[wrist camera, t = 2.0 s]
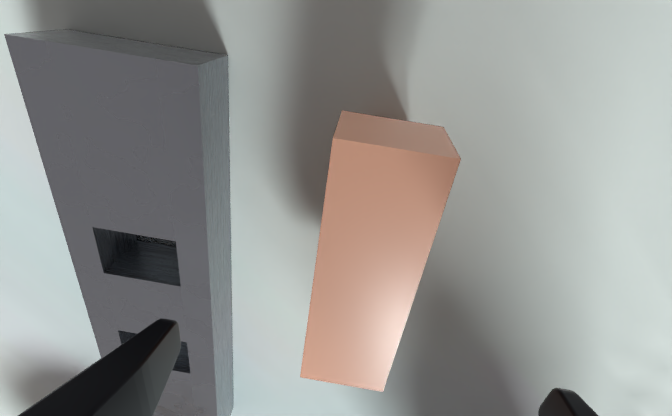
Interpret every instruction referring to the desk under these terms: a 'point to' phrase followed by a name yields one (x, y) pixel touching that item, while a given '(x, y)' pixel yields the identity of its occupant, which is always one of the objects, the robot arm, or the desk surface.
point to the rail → (141, 193)
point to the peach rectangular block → (373, 243)
